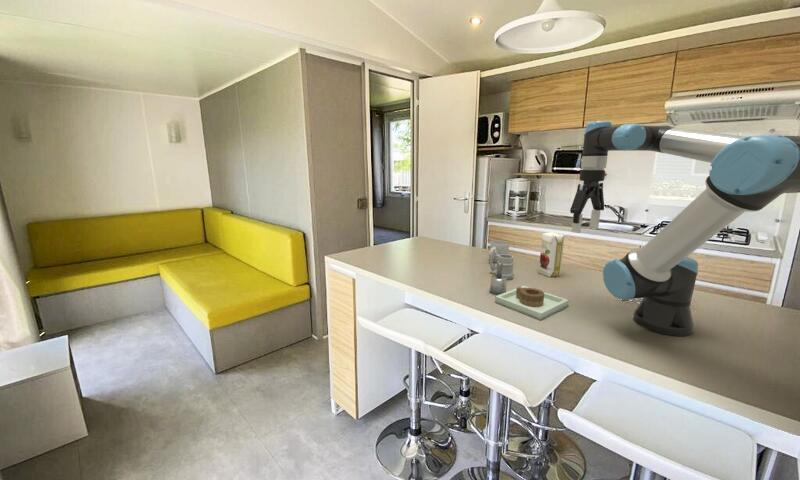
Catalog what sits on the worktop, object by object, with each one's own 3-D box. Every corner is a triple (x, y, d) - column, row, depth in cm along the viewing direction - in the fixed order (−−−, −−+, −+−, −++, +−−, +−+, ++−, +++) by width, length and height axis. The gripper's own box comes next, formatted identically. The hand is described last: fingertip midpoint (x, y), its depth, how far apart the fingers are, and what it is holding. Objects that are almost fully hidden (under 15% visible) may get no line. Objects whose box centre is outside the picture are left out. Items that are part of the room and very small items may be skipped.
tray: (568, 306, 122) (568, 300, 121) (540, 320, 111) (541, 313, 111) (523, 291, 136) (523, 285, 135) (495, 302, 125) (495, 296, 124)
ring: (547, 303, 122) (548, 292, 122) (535, 308, 118) (536, 298, 117) (523, 294, 130) (524, 284, 129) (510, 299, 125) (511, 289, 124)
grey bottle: (508, 292, 134) (511, 263, 131) (499, 296, 130) (501, 266, 128) (496, 288, 139) (498, 260, 136) (486, 291, 135) (488, 262, 132)
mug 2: (506, 281, 147) (508, 254, 144) (484, 274, 156) (485, 249, 153) (516, 277, 151) (518, 251, 149) (494, 271, 160) (496, 246, 158)
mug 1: (495, 257, 183) (496, 239, 180) (510, 261, 176) (512, 242, 174) (482, 262, 174) (483, 243, 172) (497, 266, 168) (498, 246, 165)
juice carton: (549, 270, 161) (553, 231, 157) (562, 276, 153) (567, 235, 149) (536, 272, 159) (539, 232, 155) (549, 278, 151) (553, 236, 147)
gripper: (597, 168, 126) (590, 224, 131) (563, 169, 112) (556, 232, 117) (620, 168, 121) (611, 227, 126) (587, 170, 106) (578, 236, 111)
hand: (585, 230), depth 121 cm, fingers open, 13 cm apart
